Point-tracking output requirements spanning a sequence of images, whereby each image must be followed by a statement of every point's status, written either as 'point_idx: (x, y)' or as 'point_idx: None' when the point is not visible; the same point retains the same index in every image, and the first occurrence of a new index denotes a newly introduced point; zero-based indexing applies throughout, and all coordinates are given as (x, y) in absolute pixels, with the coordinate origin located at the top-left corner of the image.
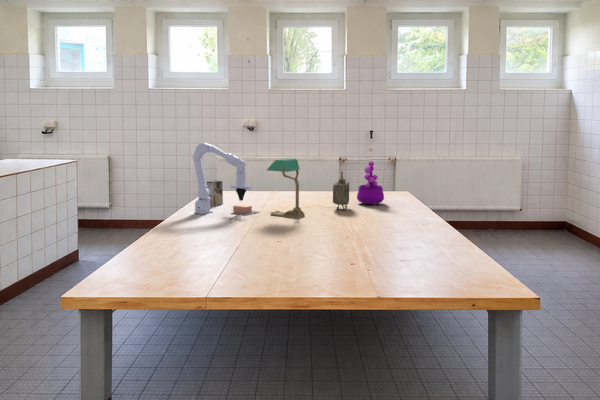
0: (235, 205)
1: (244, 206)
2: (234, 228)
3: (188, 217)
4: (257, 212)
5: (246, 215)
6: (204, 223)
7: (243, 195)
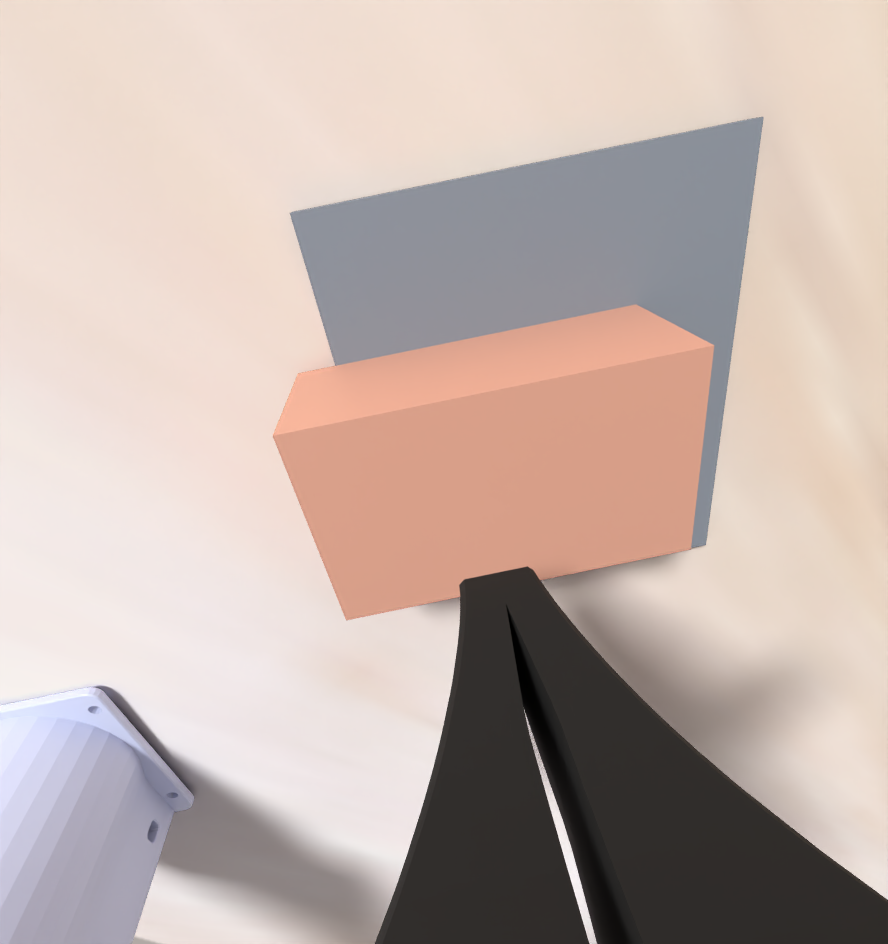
0: (336, 565)
1: (600, 513)
2: (870, 840)
3: (258, 896)
4: (746, 208)
5: (701, 539)
6: None
7: (614, 707)
